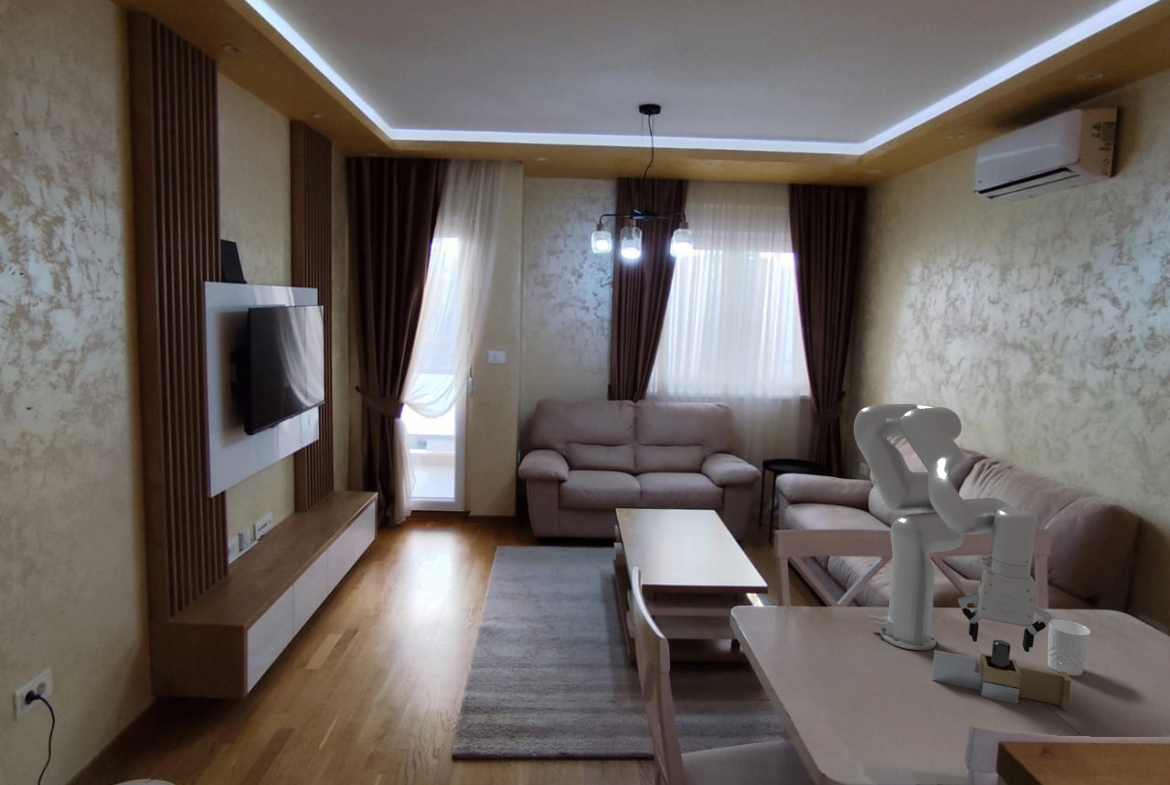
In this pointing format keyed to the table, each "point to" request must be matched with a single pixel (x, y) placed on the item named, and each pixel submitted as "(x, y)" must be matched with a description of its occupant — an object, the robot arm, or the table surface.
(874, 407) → the robot arm
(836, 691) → the table surface
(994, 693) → the fixed leaf
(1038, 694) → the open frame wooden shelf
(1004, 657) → the pin
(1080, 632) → the white cup
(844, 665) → the table surface
